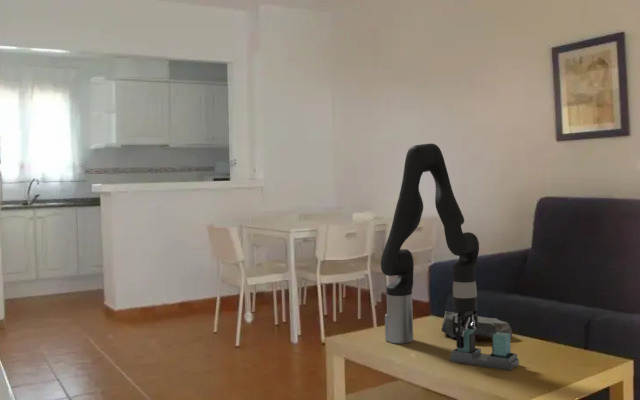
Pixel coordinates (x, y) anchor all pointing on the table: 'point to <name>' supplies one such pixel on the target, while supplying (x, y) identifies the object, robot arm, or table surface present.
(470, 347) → the block
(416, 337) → the table surface
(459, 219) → the robot arm
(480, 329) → the stone
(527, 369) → the table surface
